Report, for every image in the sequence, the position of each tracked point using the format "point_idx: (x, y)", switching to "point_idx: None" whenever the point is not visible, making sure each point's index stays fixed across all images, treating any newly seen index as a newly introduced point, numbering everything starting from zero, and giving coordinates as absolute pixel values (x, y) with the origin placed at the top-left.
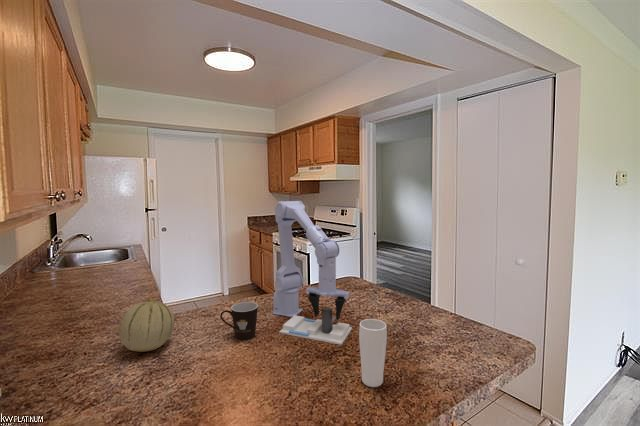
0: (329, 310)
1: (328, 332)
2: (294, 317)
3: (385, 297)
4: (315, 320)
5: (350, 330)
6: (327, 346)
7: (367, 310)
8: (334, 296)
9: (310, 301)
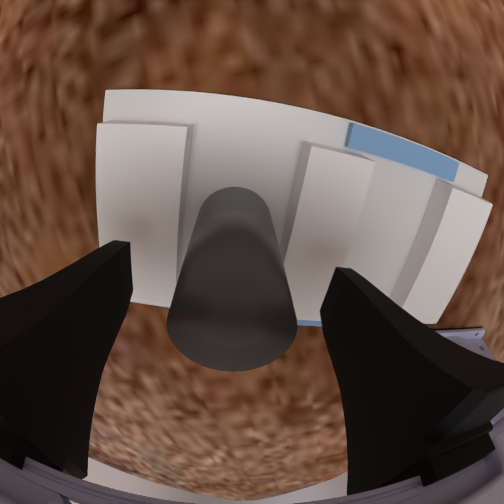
0: (197, 317)
1: (216, 193)
2: (440, 302)
3: (127, 461)
4: None
5: None
6: (192, 43)
7: (133, 421)
8: (78, 485)
9: (471, 354)
